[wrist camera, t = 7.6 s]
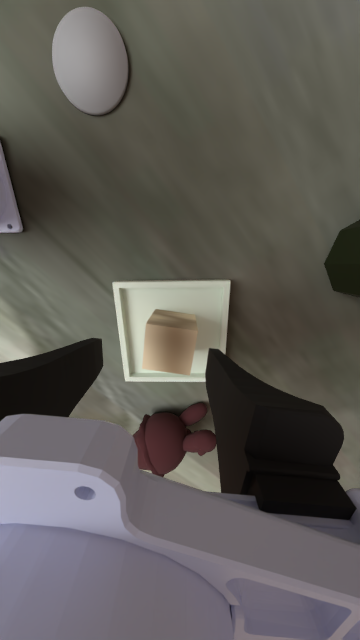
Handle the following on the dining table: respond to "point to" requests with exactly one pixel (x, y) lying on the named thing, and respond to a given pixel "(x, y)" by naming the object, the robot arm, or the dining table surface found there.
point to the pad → (90, 61)
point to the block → (170, 342)
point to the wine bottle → (345, 261)
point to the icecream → (171, 439)
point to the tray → (177, 296)
